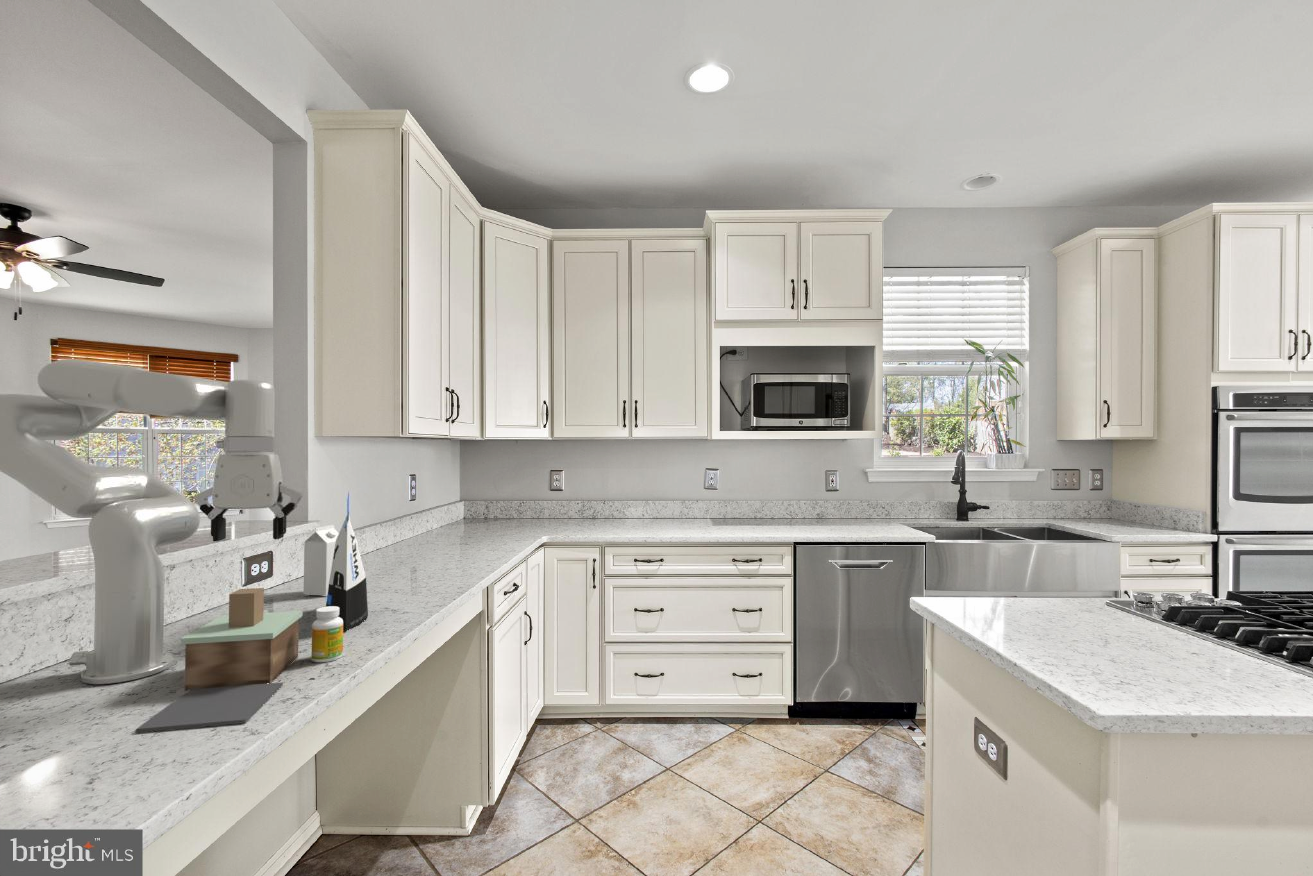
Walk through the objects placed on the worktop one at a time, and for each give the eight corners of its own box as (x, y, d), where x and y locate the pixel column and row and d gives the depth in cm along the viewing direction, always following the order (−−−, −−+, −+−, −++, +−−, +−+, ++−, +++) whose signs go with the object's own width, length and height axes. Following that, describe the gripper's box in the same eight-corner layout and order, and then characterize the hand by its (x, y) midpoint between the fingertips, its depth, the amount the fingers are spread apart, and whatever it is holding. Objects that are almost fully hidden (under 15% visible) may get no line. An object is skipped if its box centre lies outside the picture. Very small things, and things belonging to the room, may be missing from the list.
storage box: (184, 690, 99) (185, 643, 99) (222, 662, 112) (223, 620, 112) (270, 683, 102) (270, 638, 102) (298, 657, 114) (298, 616, 115)
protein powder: (367, 603, 154) (368, 490, 154) (369, 629, 132) (370, 498, 133) (326, 608, 149) (328, 492, 150) (321, 635, 128) (323, 500, 128)
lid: (180, 644, 98) (181, 603, 98) (222, 620, 112) (222, 584, 112) (273, 638, 102) (273, 598, 102) (302, 616, 115) (302, 580, 115)
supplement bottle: (328, 664, 111) (329, 613, 111) (304, 661, 112) (305, 611, 112) (348, 654, 116) (349, 605, 117) (325, 652, 117) (326, 604, 118)
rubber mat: (136, 733, 84) (136, 729, 84) (189, 693, 98) (189, 689, 98) (245, 723, 87) (245, 719, 87) (282, 685, 101) (282, 682, 101)
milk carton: (303, 595, 161) (304, 527, 161) (321, 589, 168) (323, 524, 168) (325, 597, 160) (327, 528, 160) (343, 590, 167) (344, 525, 167)
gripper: (184, 447, 102) (183, 544, 101) (294, 447, 106) (293, 540, 105) (207, 447, 109) (206, 538, 109) (309, 447, 113) (308, 534, 113)
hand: (249, 539), depth 107 cm, fingers open, 9 cm apart
